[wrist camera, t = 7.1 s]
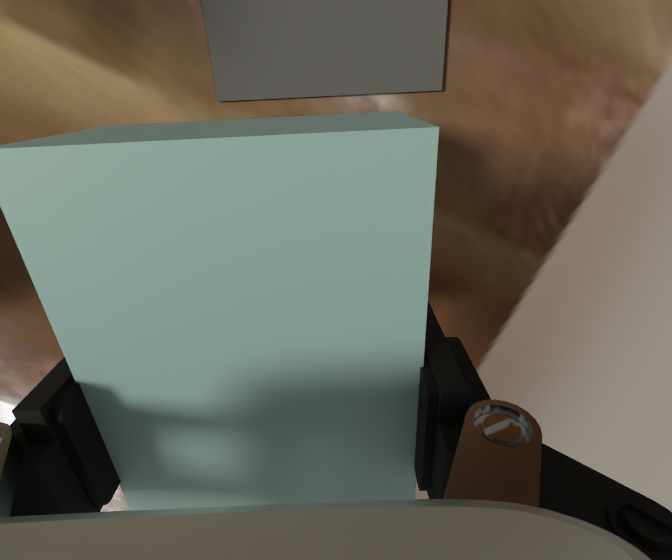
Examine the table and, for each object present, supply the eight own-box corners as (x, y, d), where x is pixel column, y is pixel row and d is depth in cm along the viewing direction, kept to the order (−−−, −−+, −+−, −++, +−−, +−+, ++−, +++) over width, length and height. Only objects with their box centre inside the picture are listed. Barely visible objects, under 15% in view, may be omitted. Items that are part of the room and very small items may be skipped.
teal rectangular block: (108, 125, 10) (-24, 149, 6) (397, 111, 10) (439, 127, 6) (203, 467, 15) (163, 588, 11) (389, 458, 15) (409, 577, 11)
